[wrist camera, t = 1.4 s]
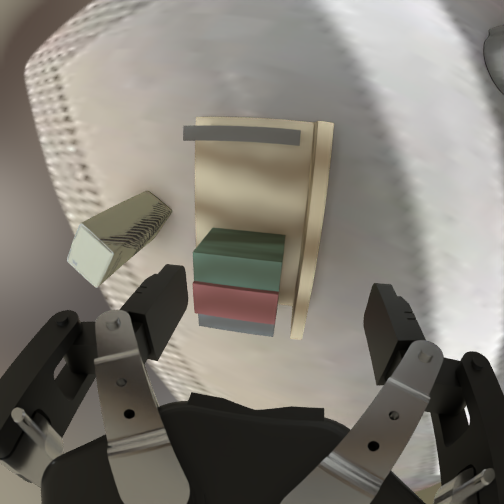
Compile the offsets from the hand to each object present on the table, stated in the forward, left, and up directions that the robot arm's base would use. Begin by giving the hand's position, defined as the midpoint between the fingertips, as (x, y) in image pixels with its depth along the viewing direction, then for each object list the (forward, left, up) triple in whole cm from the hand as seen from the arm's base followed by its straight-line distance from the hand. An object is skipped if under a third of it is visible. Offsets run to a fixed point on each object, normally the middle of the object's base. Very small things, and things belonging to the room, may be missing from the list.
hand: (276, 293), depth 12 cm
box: (+4, -16, -20) cm, 26 cm away
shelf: (+3, -3, -20) cm, 20 cm away
